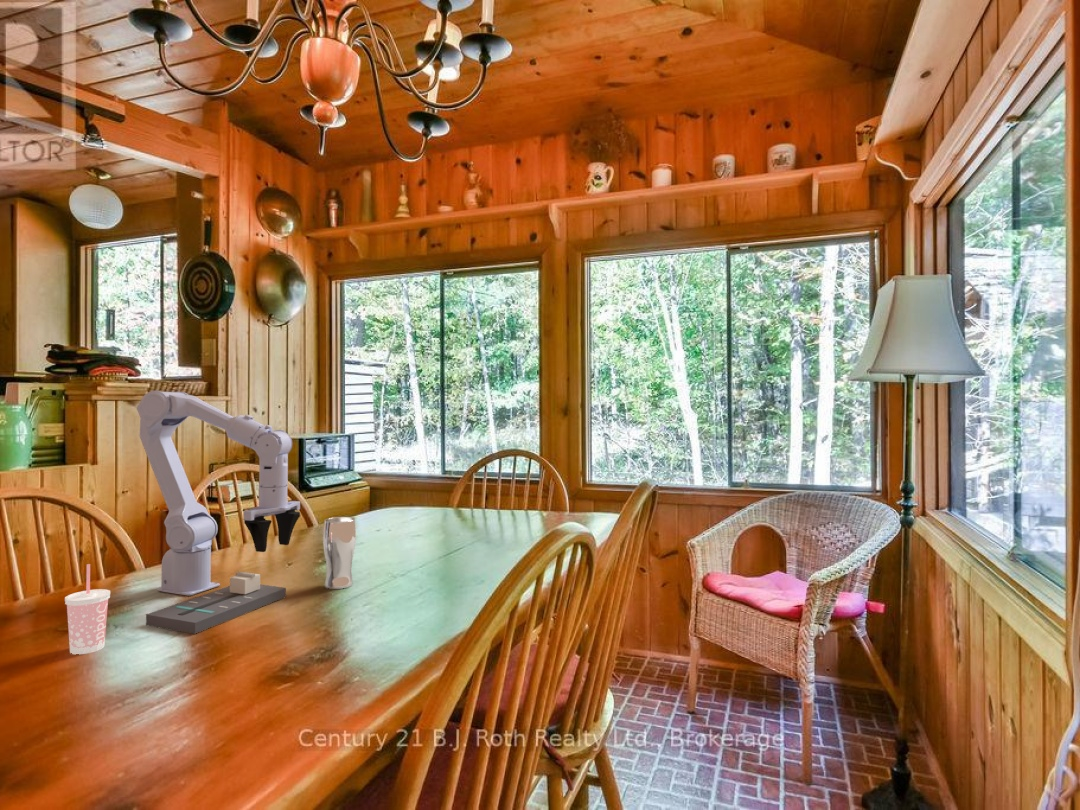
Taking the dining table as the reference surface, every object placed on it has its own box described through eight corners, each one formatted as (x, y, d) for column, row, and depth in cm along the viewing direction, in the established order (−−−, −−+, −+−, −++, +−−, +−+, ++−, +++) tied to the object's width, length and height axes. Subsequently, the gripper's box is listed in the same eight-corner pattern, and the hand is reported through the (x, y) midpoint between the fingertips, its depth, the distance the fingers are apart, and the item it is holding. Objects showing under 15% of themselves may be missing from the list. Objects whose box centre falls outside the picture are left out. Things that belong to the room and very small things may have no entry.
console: (146, 625, 110) (146, 613, 110) (241, 590, 131) (241, 581, 131) (195, 634, 106) (195, 622, 106) (285, 597, 127) (285, 587, 127)
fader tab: (229, 592, 123) (229, 574, 123) (244, 586, 127) (244, 569, 127) (245, 594, 122) (245, 576, 122) (260, 588, 125) (261, 571, 125)
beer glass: (345, 591, 132) (345, 522, 132) (316, 588, 133) (317, 521, 133) (360, 582, 138) (361, 517, 138) (333, 580, 140) (334, 515, 140)
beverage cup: (80, 658, 95) (81, 571, 95) (54, 653, 98) (55, 567, 98) (118, 644, 101) (119, 561, 101) (94, 639, 103) (95, 558, 103)
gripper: (262, 491, 123) (261, 557, 123) (311, 482, 137) (310, 542, 137) (235, 489, 125) (235, 554, 125) (286, 481, 139) (285, 539, 139)
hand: (272, 547), depth 131 cm, fingers open, 6 cm apart
